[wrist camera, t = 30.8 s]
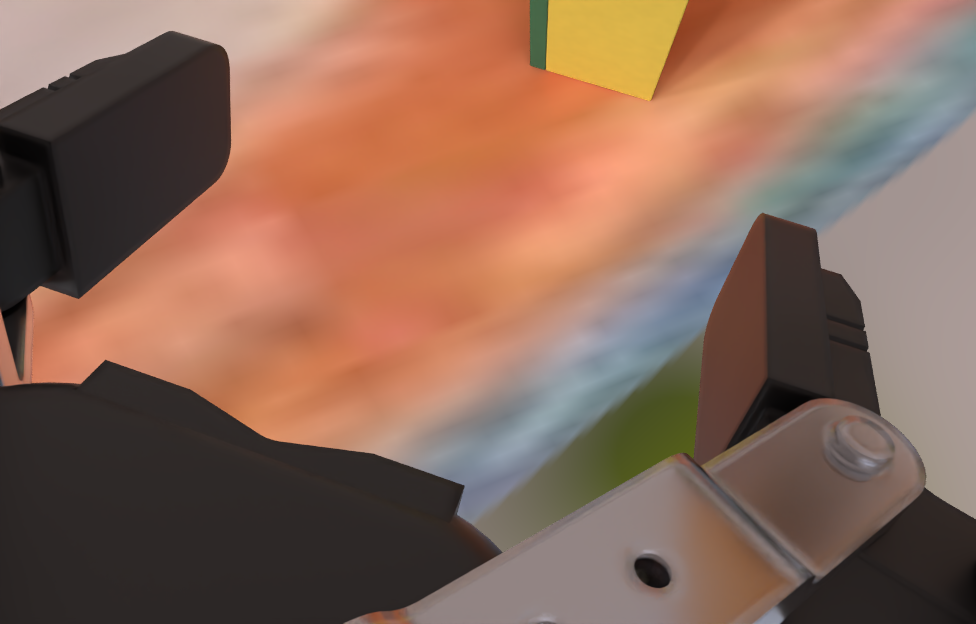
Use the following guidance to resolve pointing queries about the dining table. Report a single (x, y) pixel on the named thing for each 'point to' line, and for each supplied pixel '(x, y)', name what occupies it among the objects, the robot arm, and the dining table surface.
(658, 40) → the sponge
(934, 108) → the dining table surface
